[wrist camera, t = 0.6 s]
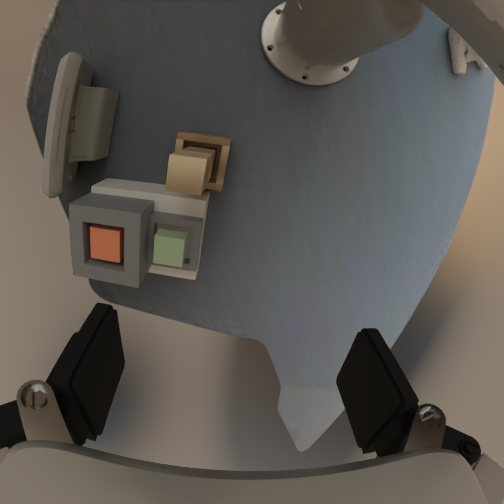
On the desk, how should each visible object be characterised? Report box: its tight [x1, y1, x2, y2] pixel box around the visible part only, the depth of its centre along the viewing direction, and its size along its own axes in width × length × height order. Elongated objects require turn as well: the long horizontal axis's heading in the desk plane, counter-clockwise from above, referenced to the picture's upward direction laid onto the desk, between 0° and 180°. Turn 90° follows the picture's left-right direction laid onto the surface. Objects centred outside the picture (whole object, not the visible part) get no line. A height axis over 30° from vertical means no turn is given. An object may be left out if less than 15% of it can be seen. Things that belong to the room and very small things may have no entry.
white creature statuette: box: [448, 27, 488, 74], centre depth 21 cm, size 10×9×12 cm
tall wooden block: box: [165, 145, 217, 196], centre depth 27 cm, size 3×3×12 cm
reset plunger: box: [90, 223, 124, 263], centre depth 28 cm, size 4×4×2 cm
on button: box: [153, 229, 188, 268], centre depth 30 cm, size 3×3×2 cm
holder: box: [174, 132, 232, 191], centre depth 32 cm, size 6×6×4 cm
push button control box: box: [69, 178, 210, 288], centre depth 32 cm, size 10×14×10 cm
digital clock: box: [43, 52, 120, 198], centre depth 26 cm, size 16×9×11 cm, turn 155°
